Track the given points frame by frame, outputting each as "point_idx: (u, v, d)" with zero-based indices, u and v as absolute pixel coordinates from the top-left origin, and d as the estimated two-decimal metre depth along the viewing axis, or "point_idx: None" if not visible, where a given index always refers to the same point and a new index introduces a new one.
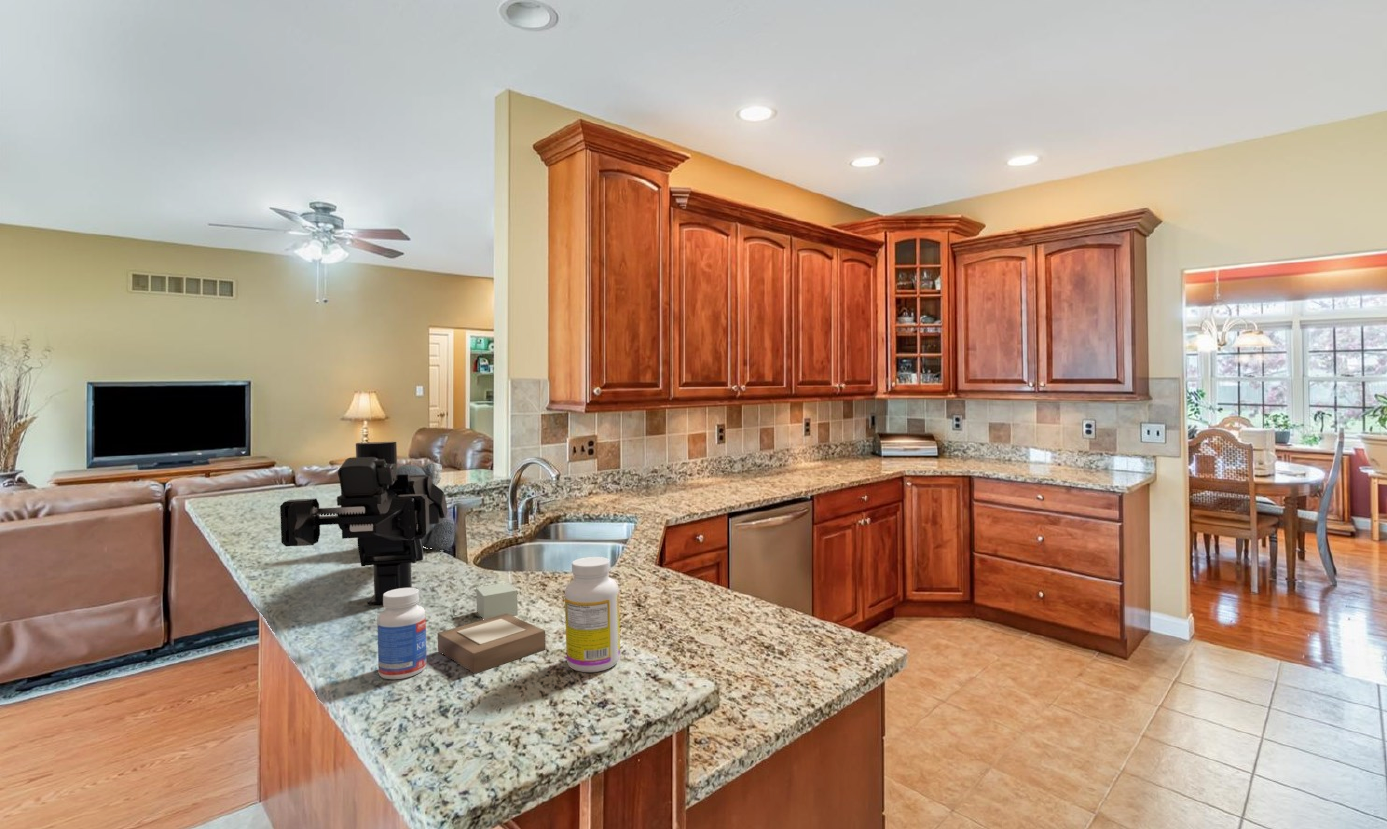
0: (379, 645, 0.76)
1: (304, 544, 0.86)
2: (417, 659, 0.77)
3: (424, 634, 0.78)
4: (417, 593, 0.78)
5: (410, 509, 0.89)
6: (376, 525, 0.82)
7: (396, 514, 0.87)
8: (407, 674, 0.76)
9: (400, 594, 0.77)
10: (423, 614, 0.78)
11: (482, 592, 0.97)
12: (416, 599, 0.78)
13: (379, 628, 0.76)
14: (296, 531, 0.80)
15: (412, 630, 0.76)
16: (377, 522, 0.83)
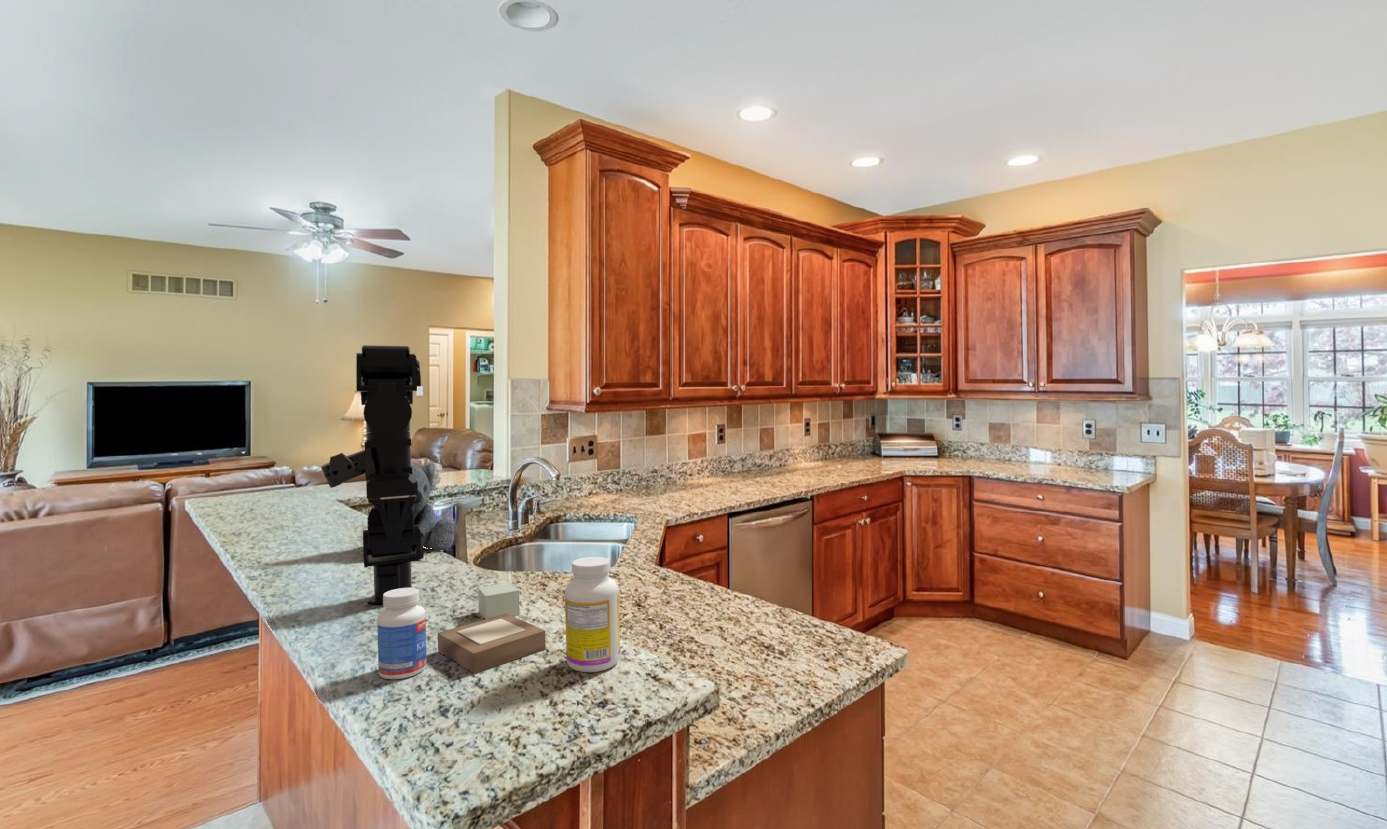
0: (379, 645, 0.76)
1: None
2: (417, 659, 0.77)
3: (424, 634, 0.78)
4: (417, 593, 0.78)
5: (381, 502, 0.85)
6: (389, 544, 0.88)
7: (383, 515, 0.86)
8: (407, 674, 0.76)
9: (400, 594, 0.77)
10: (423, 614, 0.78)
11: (484, 592, 0.97)
12: (416, 599, 0.78)
13: (379, 628, 0.76)
14: None
15: (412, 630, 0.76)
16: (387, 538, 0.88)
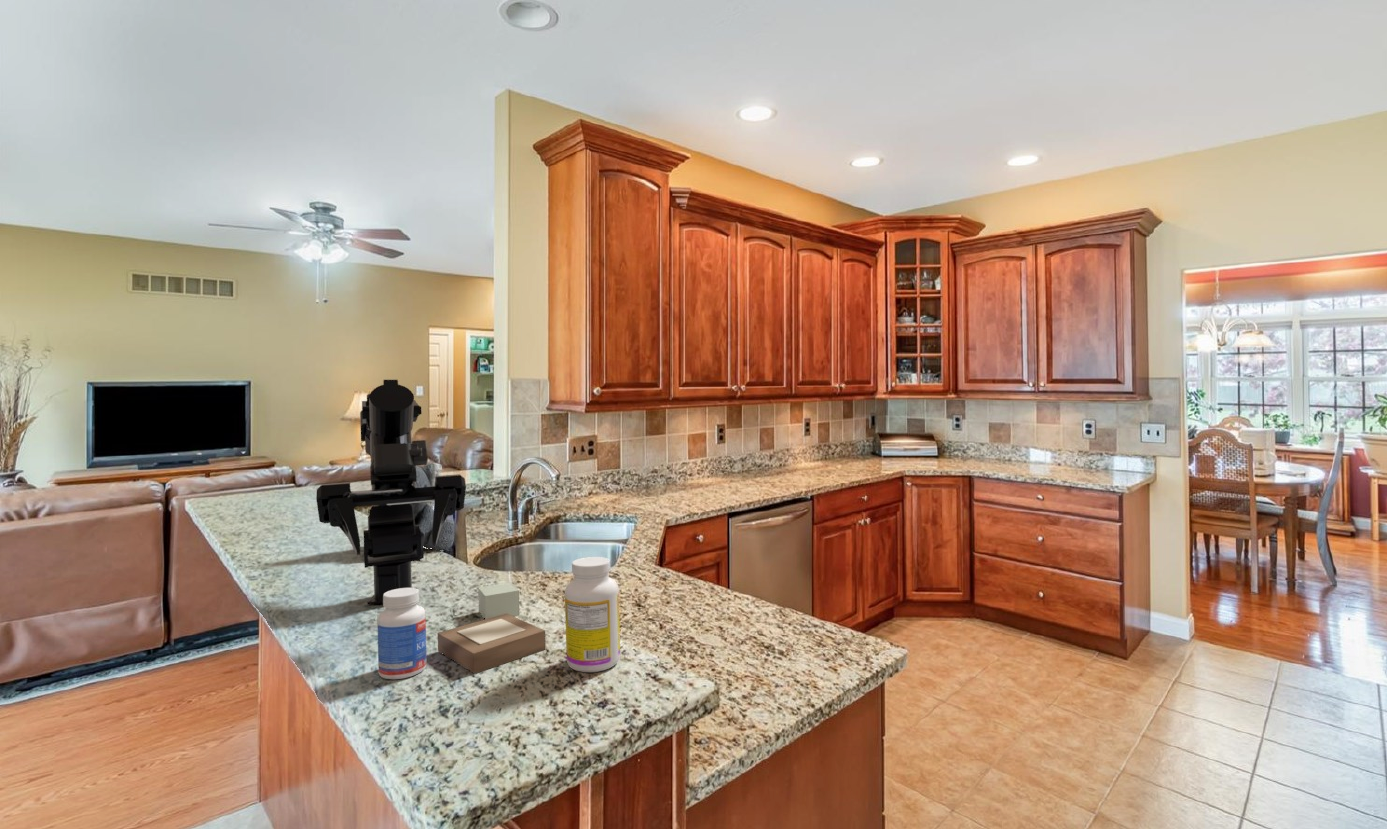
0: (379, 645, 0.76)
1: None
2: (417, 659, 0.77)
3: (424, 634, 0.78)
4: (417, 593, 0.78)
5: (452, 498, 0.91)
6: (436, 540, 0.87)
7: (443, 511, 0.90)
8: (407, 674, 0.76)
9: (400, 594, 0.77)
10: (423, 614, 0.78)
11: (484, 592, 0.97)
12: (416, 599, 0.78)
13: (379, 628, 0.76)
14: (358, 552, 0.83)
15: (412, 630, 0.76)
16: (434, 534, 0.87)
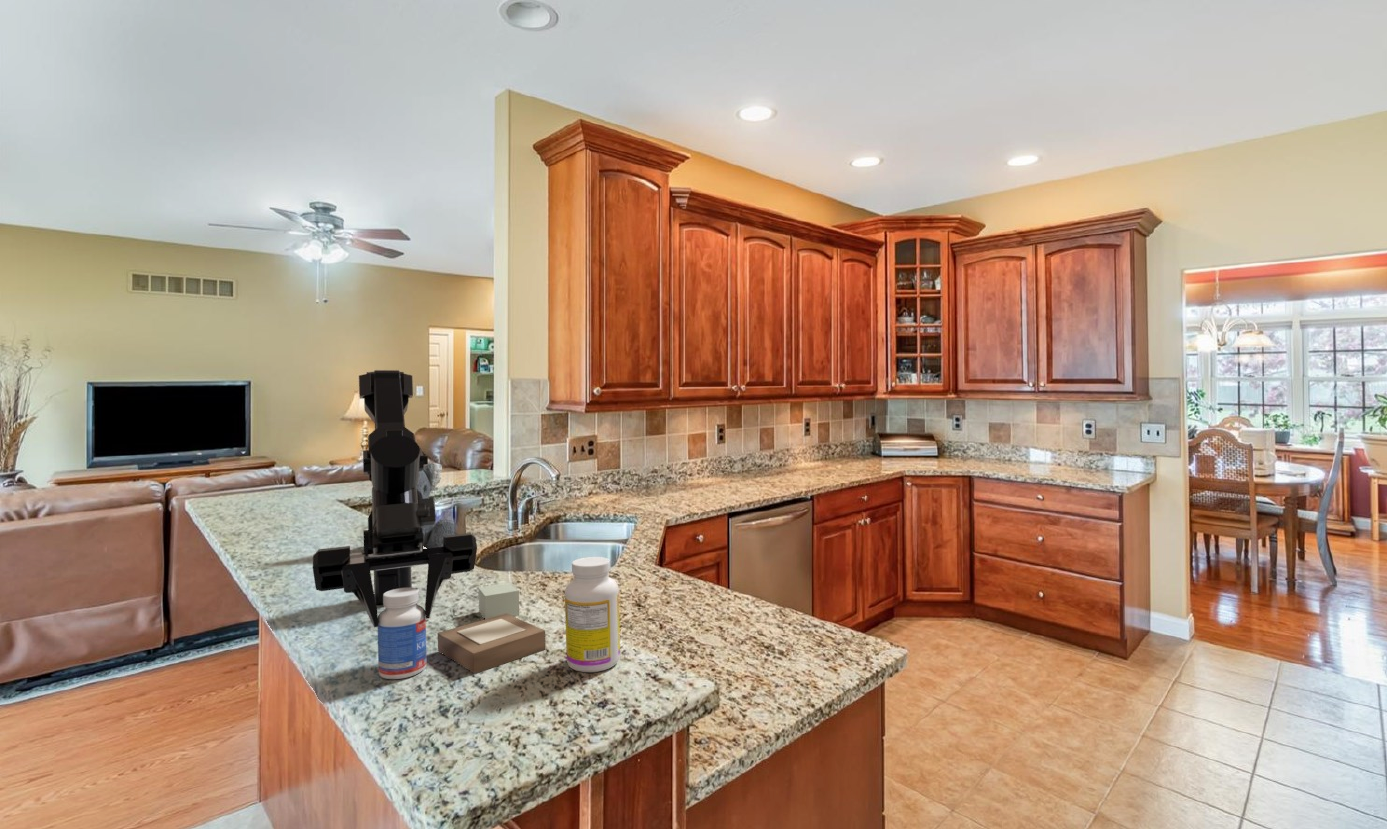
0: (379, 645, 0.76)
1: None
2: (417, 659, 0.77)
3: (424, 634, 0.78)
4: (417, 593, 0.78)
5: (448, 562, 0.82)
6: (429, 613, 0.78)
7: (438, 578, 0.81)
8: (407, 674, 0.76)
9: (400, 594, 0.77)
10: (423, 614, 0.78)
11: (484, 592, 0.97)
12: (416, 599, 0.78)
13: (379, 628, 0.76)
14: (376, 624, 0.75)
15: (412, 630, 0.76)
16: (428, 606, 0.78)
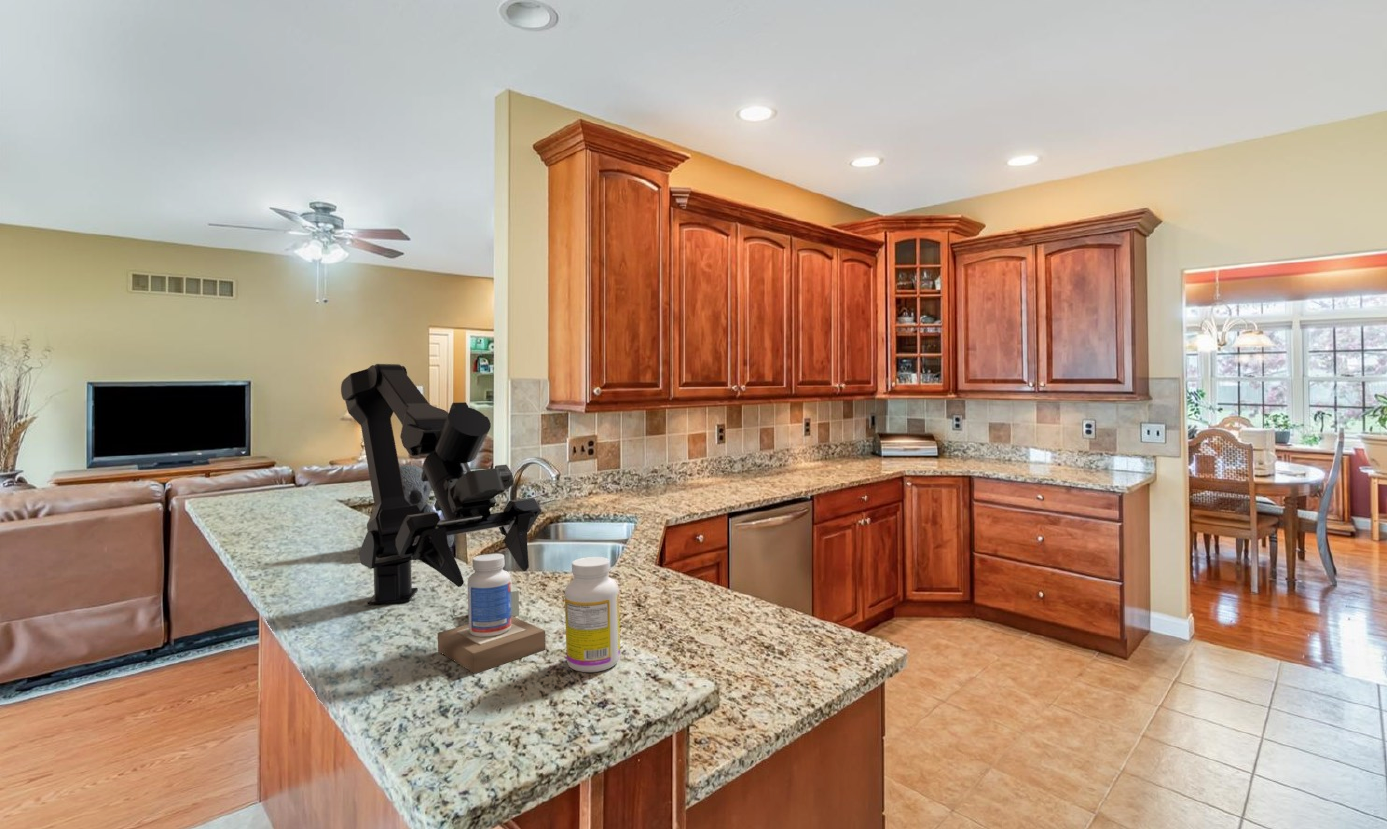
0: (475, 606, 0.81)
1: None
2: (509, 616, 0.83)
3: None
4: None
5: (530, 522, 0.90)
6: (528, 565, 0.86)
7: None
8: (503, 630, 0.82)
9: (492, 558, 0.83)
10: (509, 575, 0.85)
11: None
12: (504, 562, 0.84)
13: (475, 590, 0.81)
14: (462, 583, 0.79)
15: (506, 589, 0.83)
16: (526, 560, 0.86)
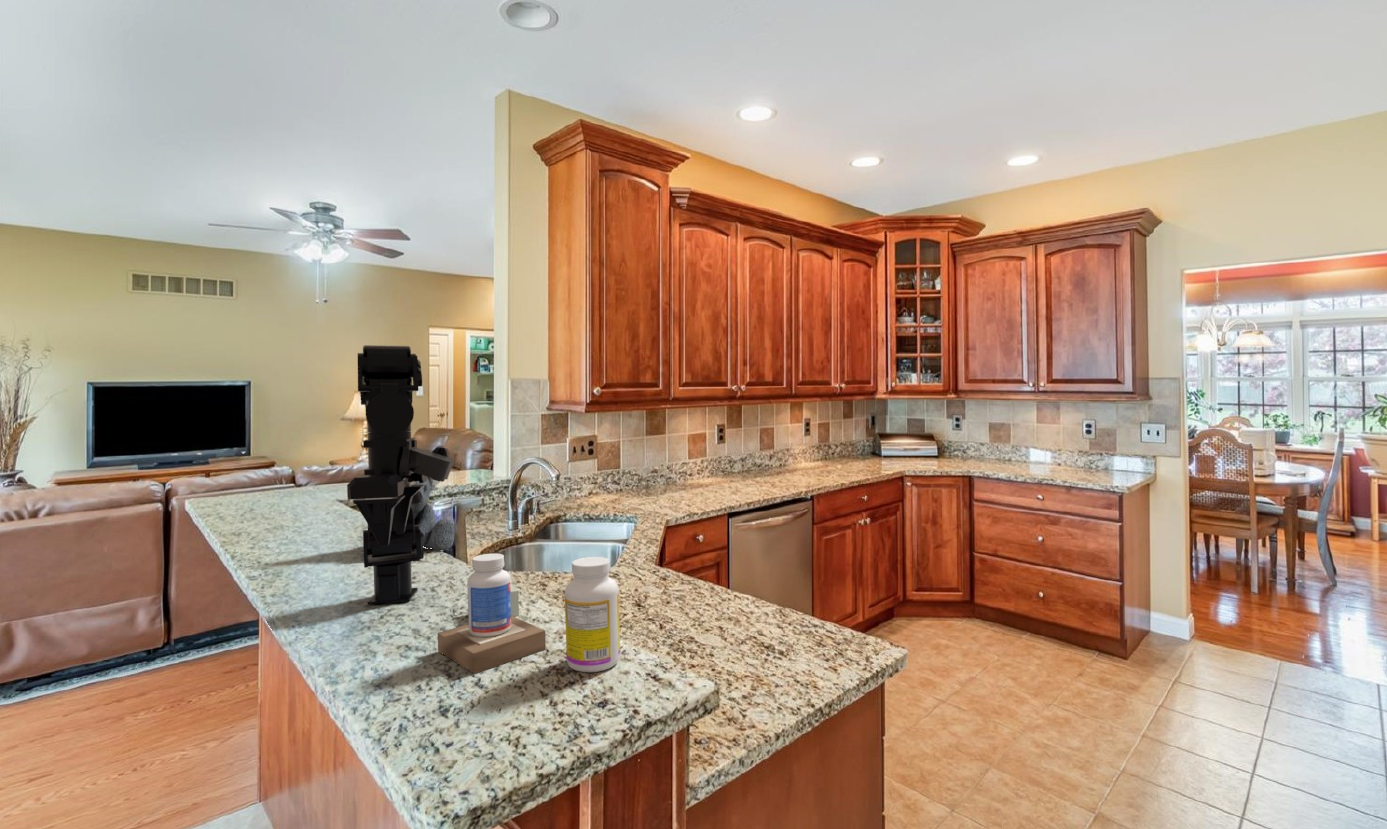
0: (474, 606, 0.81)
1: None
2: (509, 616, 0.83)
3: (510, 594, 0.85)
4: (503, 557, 0.84)
5: None
6: (403, 531, 0.97)
7: None
8: (503, 630, 0.82)
9: (491, 558, 0.83)
10: (509, 575, 0.85)
11: None
12: (504, 563, 0.84)
13: (475, 590, 0.81)
14: (386, 545, 0.88)
15: (505, 589, 0.83)
16: (405, 526, 0.97)
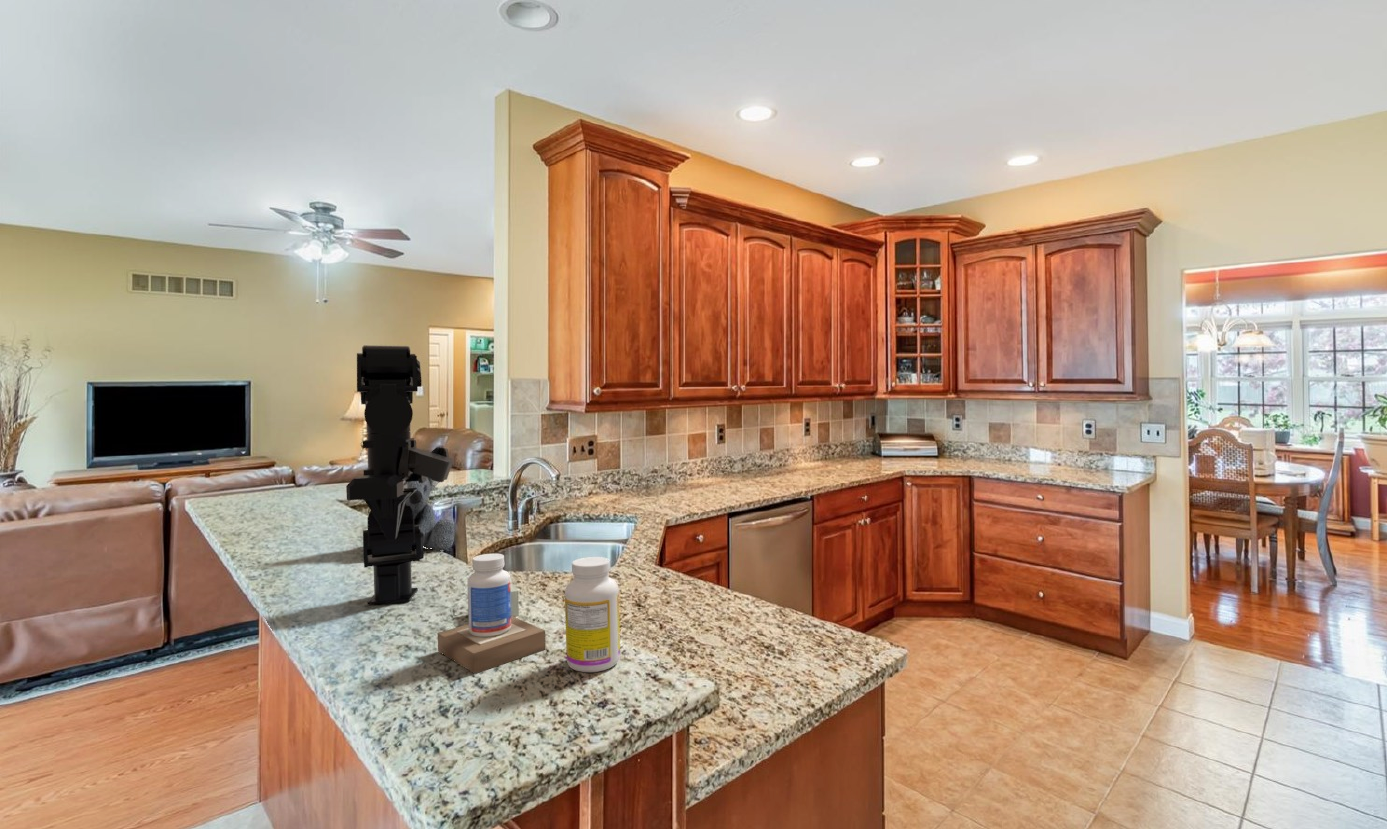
0: (474, 606, 0.81)
1: None
2: (509, 616, 0.83)
3: None
4: (503, 557, 0.84)
5: None
6: (396, 537, 0.93)
7: None
8: (503, 630, 0.82)
9: (491, 558, 0.83)
10: (509, 576, 0.85)
11: None
12: (504, 563, 0.84)
13: (475, 590, 0.81)
14: (393, 539, 0.92)
15: (505, 590, 0.83)
16: (397, 531, 0.93)
